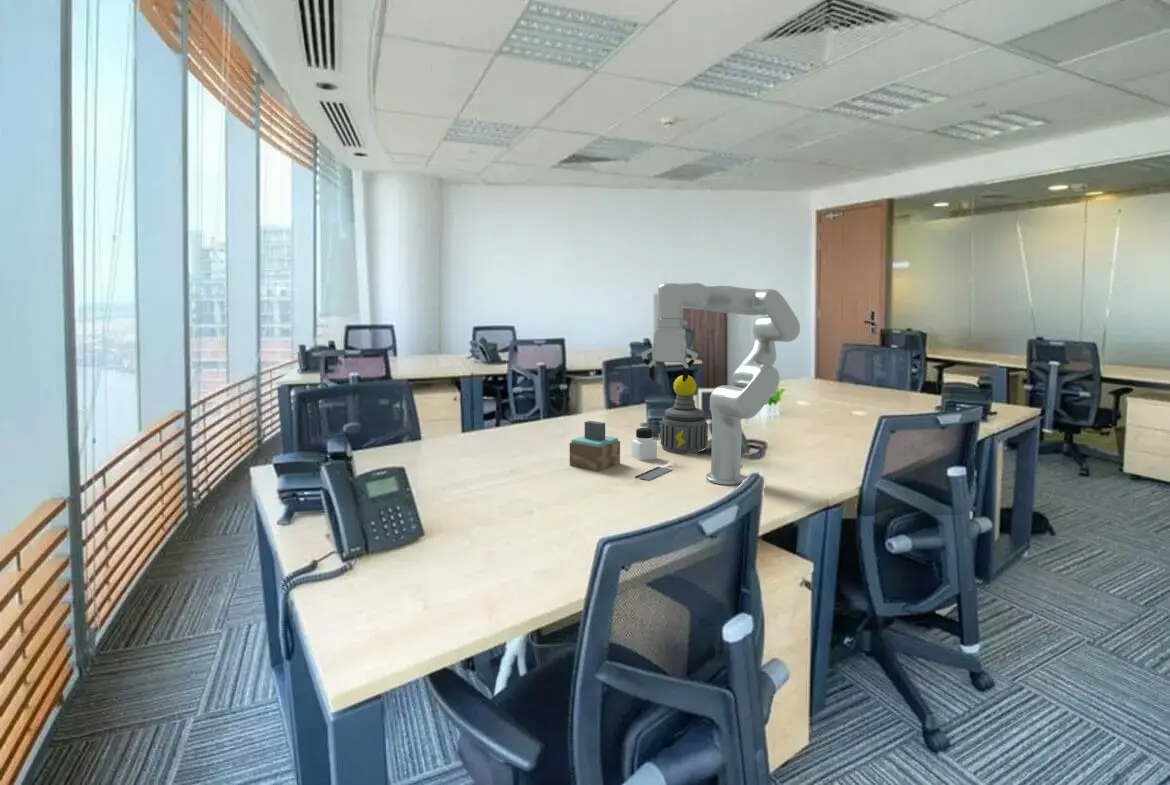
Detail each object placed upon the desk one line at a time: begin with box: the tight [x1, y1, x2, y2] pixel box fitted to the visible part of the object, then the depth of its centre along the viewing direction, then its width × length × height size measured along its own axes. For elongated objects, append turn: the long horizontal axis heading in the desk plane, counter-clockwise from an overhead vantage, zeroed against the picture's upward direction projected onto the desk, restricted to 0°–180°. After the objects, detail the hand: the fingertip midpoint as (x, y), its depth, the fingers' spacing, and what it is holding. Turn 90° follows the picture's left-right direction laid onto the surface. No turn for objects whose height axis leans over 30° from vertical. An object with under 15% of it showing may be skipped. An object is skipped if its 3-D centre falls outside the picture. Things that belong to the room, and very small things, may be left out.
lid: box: [570, 420, 619, 448], centre depth 222 cm, size 12×12×7 cm
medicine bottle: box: [631, 426, 658, 461], centre depth 233 cm, size 7×7×12 cm
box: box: [569, 440, 621, 472], centre depth 224 cm, size 13×13×9 cm
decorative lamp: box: [659, 374, 709, 454], centre depth 248 cm, size 19×19×30 cm
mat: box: [634, 466, 673, 481], centre depth 217 cm, size 16×16×1 cm
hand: (668, 380), depth 191 cm, fingers open, 9 cm apart
